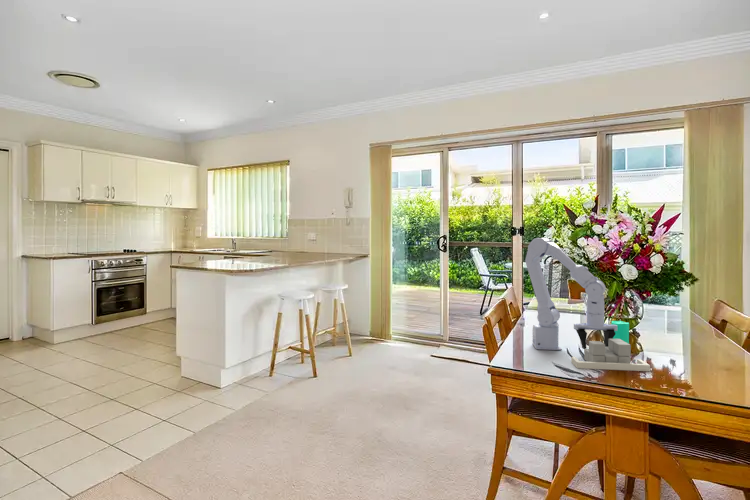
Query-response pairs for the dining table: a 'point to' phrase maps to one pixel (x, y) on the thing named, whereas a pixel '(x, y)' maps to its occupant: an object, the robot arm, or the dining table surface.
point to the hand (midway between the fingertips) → (595, 348)
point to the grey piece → (612, 365)
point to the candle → (621, 330)
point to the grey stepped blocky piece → (608, 352)
